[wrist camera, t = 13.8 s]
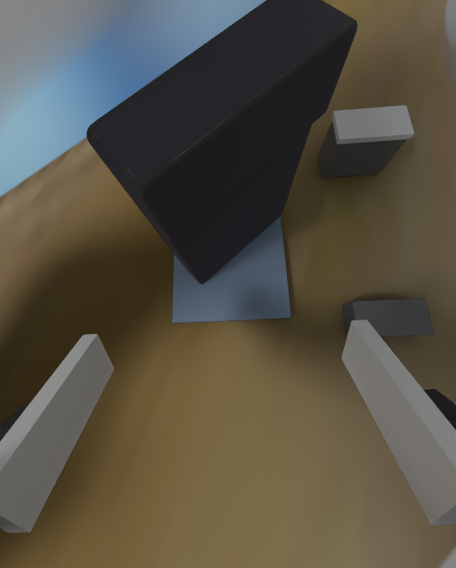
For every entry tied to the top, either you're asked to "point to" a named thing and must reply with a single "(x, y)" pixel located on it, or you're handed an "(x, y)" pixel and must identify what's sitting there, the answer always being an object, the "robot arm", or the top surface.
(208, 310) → the rubber mat
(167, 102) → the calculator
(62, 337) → the top surface
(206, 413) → the top surface
